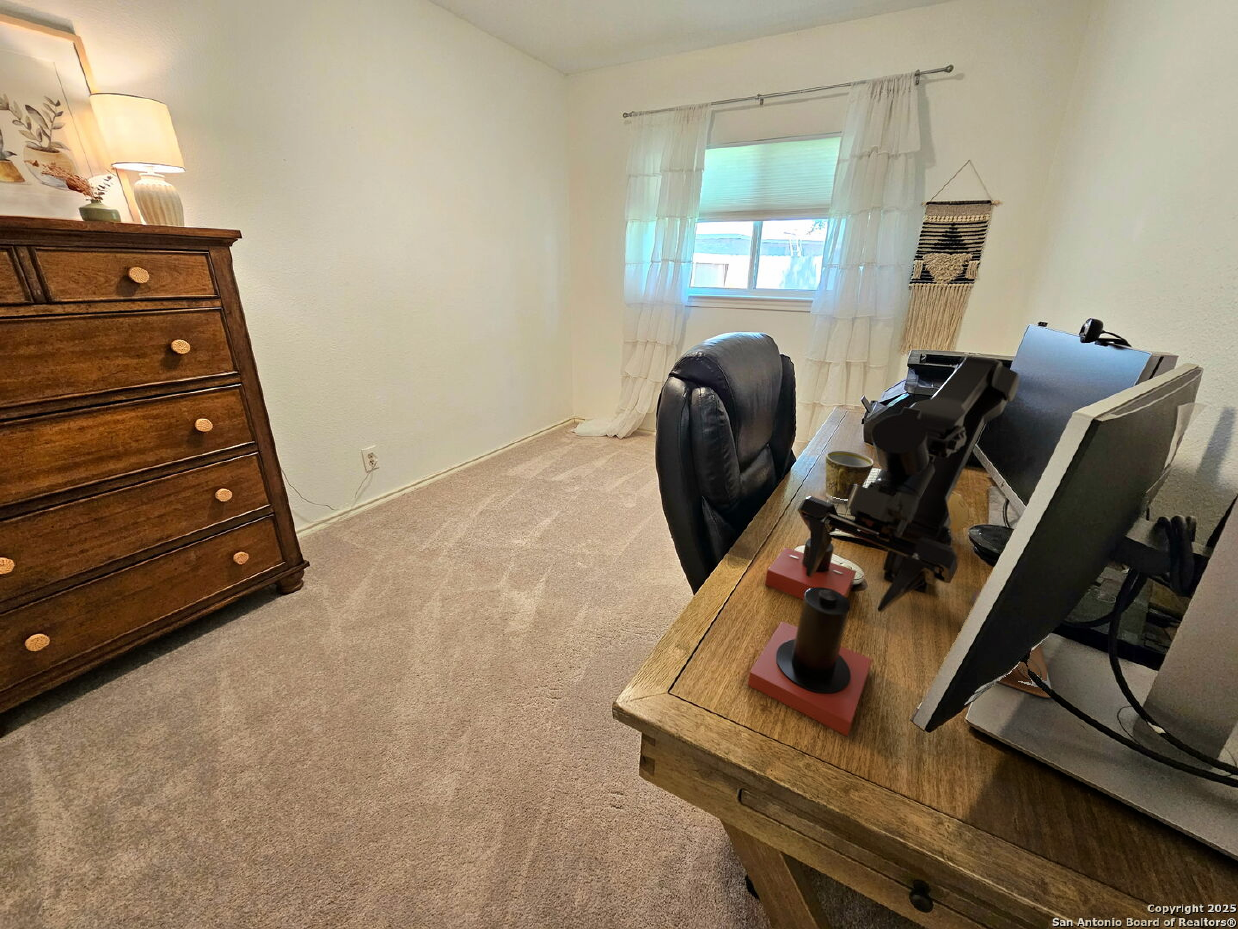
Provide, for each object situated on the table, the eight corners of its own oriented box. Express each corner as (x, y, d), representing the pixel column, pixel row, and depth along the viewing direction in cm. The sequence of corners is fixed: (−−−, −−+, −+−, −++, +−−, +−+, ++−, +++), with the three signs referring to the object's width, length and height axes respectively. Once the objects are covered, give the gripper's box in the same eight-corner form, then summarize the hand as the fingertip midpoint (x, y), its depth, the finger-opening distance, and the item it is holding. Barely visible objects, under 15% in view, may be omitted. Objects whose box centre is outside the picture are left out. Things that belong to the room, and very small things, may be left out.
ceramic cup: (824, 485, 120) (832, 447, 116) (868, 496, 114) (877, 457, 110) (809, 504, 110) (817, 463, 106) (856, 517, 104) (866, 475, 101)
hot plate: (868, 671, 64) (872, 657, 63) (847, 736, 55) (851, 720, 54) (779, 633, 71) (782, 619, 70) (747, 685, 62) (750, 670, 61)
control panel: (855, 580, 83) (859, 565, 82) (839, 613, 75) (843, 597, 74) (786, 556, 89) (788, 542, 88) (764, 584, 81) (767, 568, 80)
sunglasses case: (1060, 701, 60) (1041, 654, 59) (991, 700, 64) (973, 657, 63) (1035, 619, 74) (1020, 580, 73) (981, 623, 78) (966, 586, 78)
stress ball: (893, 525, 102) (905, 482, 98) (928, 518, 105) (940, 476, 101) (936, 549, 93) (951, 503, 89) (972, 541, 96) (988, 496, 92)
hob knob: (806, 554, 85) (810, 533, 83) (832, 563, 82) (837, 541, 81) (798, 566, 81) (802, 544, 80) (825, 575, 79) (830, 553, 77)
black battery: (838, 661, 62) (856, 592, 58) (828, 686, 58) (846, 615, 54) (798, 643, 65) (812, 576, 61) (785, 666, 61) (799, 597, 57)
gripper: (816, 441, 65) (759, 539, 62) (980, 486, 52) (917, 613, 49) (832, 479, 72) (782, 568, 70) (978, 527, 60) (923, 638, 57)
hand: (841, 593), depth 61 cm, fingers open, 9 cm apart
